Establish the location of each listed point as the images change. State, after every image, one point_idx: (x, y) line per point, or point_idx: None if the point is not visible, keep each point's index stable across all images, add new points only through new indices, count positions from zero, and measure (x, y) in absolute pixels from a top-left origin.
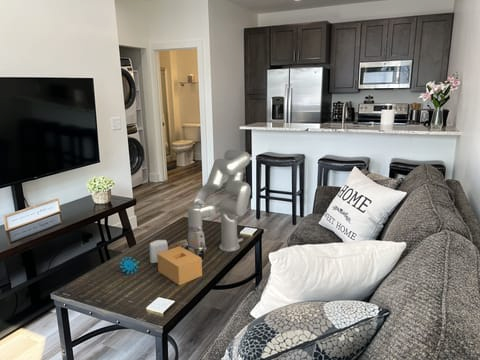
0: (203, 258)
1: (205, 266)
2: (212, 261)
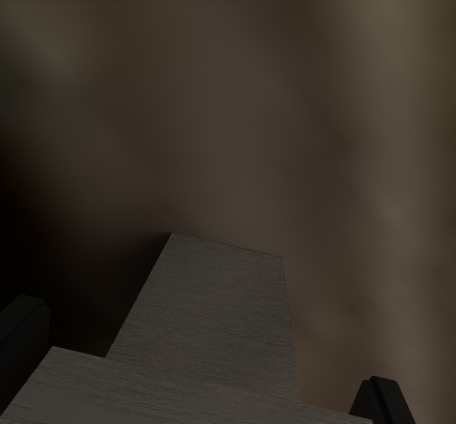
0: (393, 398)
1: (429, 352)
2: (448, 145)
